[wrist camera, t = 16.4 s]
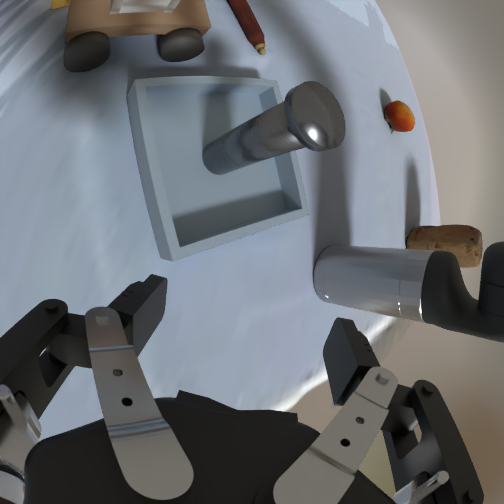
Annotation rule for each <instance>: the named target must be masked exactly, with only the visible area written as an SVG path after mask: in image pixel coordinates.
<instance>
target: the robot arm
mask: <svg viewBox="0 0 504 504" xmlns="http://www.w3.org/2000/svg"><path fill="white" fill-rule="evenodd" d="M314 286H315V290H316V292H317V295H318V296H319V297H320V299H321V300H323V301H325V302H328V303H333V304H337V305H342V306H346V307H350V308H355V309H359V310H364V311H369V312H373V313H378V314H383V315H388V316H393V317H397V318H402V319H408V320H413V321H419V322H423V323H429V324H434V325H436V326H439V327H441V328H443V329H446V330H450V331H455V332H461V333H464V334H469V335H473V336H477V337H482V338H485V339H489V340H493V341H498V342H504V242H497V243H494V244H492V245H490V246H489V247H488V248H487V249H486V251H485V253H484V256H483V262H482V269H481V281H480V292H479V300H476V299H474V298H472V296H471V295H470V294H469V292H468V291H467V289H466V287H465V284H464V281H463V279H462V275H461V271H460V266H459V263H458V260H457V258H456V256H455V255H454V254H453V253H451V252H448V251H433V250H413V249H395V248H377V247H358V246H339V245H333V246H329V247H327V248H326V249H325V250H323V252H322V253H321V254H320V256H319V258H318V260H317V263H316V266H315V270H314ZM166 293H167V278H164V277H161V276H157V275H153V274H151V275H150V276H149V277H148V278H147V279H146V280H145V281H144V282H140V281H138V282H135V283H133V284H130V285H129V286H128V287H127V288H126V289H125V291H123V292H122V293H121V294H120V295H119V296H118V297H117V298H116V299H115V300H114V301H112V302H111V303H110V304H109V305H108V306H107V307H95V308H92V309H90V310H89V311H87V312H86V314H85V315H77V314H71V313H68V307H67V304H66V303H65V302H63V301H61V300H58V299H48V300H44V301H42V302H41V303H39V304H38V305H37V306H36V307H35V308H33V309H32V310H31V311H30V312H29V313H27V314H26V315H25V316H24V317H23V318H22V319H21V320H19V321H18V322H17V323H16V324H15V325H14V326H13V327H12V328H11V329H9V330H8V331H7V332H6V333H5V334H4V335H3V336H2V337H1V338H0V464H1V465H8V466H10V467H11V468H12V469H14V470H15V471H17V472H18V473H19V474H21V475H22V476H24V479H25V492H24V500H23V504H482V503H483V499H484V494H483V490H482V488H481V484H480V482H479V479H478V477H477V473H476V471H475V468H474V466H473V463H472V461H471V458H470V456H469V453H468V451H467V449H466V446H465V444H464V442H463V439H462V437H461V435H460V433H459V431H458V428H457V426H456V424H455V422H454V420H453V418H452V416H451V414H450V412H449V410H448V408H447V406H446V404H445V402H444V400H443V398H442V396H441V394H440V392H439V390H438V389H437V387H436V386H435V385H433V384H432V383H430V382H428V381H426V380H418V381H416V382H415V384H414V385H413V386H412V388H410V387H406V386H403V385H399V384H398V380H397V378H396V376H395V375H394V374H393V373H392V372H391V371H389V370H388V369H385V368H383V367H380V365H379V362H378V360H377V358H376V356H375V354H374V352H373V350H372V348H371V346H370V344H369V341H368V339H367V338H366V337H365V336H364V335H363V334H362V333H361V332H360V331H358V330H357V328H356V326H355V324H354V322H353V320H350V319H344V318H339V317H338V318H336V320H335V321H334V324H333V326H332V328H331V331H330V333H329V335H328V338H327V340H326V342H325V345H324V349H323V358H324V362H325V366H326V370H327V375H328V379H329V383H330V388H331V392H332V397H333V402H334V405H337V406H343V407H342V408H341V410H340V411H339V412H338V414H337V415H336V416H335V418H334V419H333V420H332V421H331V422H330V424H329V425H328V426H327V427H326V429H325V430H324V431H323V432H322V433H321V434H320V433H319V432H318V431H316V430H315V429H313V428H311V427H309V426H307V425H305V424H302V423H300V422H298V417H297V413H290V412H282V411H275V410H236V409H233V408H231V407H229V406H226V405H224V404H222V403H219V402H217V401H215V400H212V399H210V398H208V397H204V396H200V395H196V394H192V393H188V392H185V391H181V390H179V392H178V395H177V397H176V398H172V397H164V398H156V399H154V398H153V395H152V393H151V391H150V389H149V386H148V384H147V381H146V379H145V376H144V374H143V371H142V369H141V366H140V364H139V361H138V358H137V357H138V356H139V354H140V352H141V351H142V349H143V348H144V346H145V345H146V343H147V341H148V340H149V338H150V337H151V335H152V334H153V332H154V331H155V329H156V327H157V326H158V324H159V323H160V321H161V320H162V318H163V315H164V311H165V304H166ZM45 348H46V350H45V351H44V352H43V354H42V355H41V356H40V354H41V352H42V351H43V350H44V349H45ZM39 356H40V357H39ZM75 366H80V367H86V368H92V369H93V374H94V379H95V384H96V389H97V393H98V397H99V401H100V405H101V409H102V413H103V416H104V418H103V419H100V420H98V421H95V422H92V423H90V424H87V425H84V426H81V427H78V428H76V429H73V430H70V431H67V432H64V433H61V434H58V435H55V436H51V437H48V438H46V439H43V440H41V441H40V442H39V438H40V435H41V425H40V422H39V418H40V417H41V415H42V414H43V412H44V410H45V409H46V407H47V406H48V404H49V403H50V401H51V400H52V398H53V397H54V395H55V394H56V392H57V391H58V389H59V388H60V386H61V385H62V384H63V382H64V381H65V379H66V378H67V376H68V375H69V374H70V372H71V371H72V369H73V368H74V367H75ZM418 424H419V426H420V429H421V432H422V438H421V441H420V442H419V444H418V442H417V439H416V436H415V433H414V430H413V429H414V428H415V427H416V426H417V425H418ZM379 430H382V432H383V436H384V439H385V444H386V448H387V452H388V456H389V461H390V465H391V470H392V474H393V479H394V484H395V489H396V494H395V495H394V497H393V499H391V498H390V497H389V496H388V495H387V494H385V493H384V492H383V491H382V490H381V489H380V488H378V487H377V486H376V485H375V484H374V483H373V482H372V481H370V480H369V479H368V478H367V477H366V476H365V475H364V474H363V473H362V472H360V471H359V470H358V468H359V466H360V464H361V463H362V461H363V459H364V458H365V456H366V454H367V453H368V451H369V449H370V447H371V446H372V444H373V442H374V440H375V438H376V436H377V434H378V432H379Z"/></svg>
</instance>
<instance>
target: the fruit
mask: <svg viewBox="0 0 504 504" xmlns="http://www.w3.org/2000/svg"><path fill="white" fill-rule="evenodd" d="M385 116H386V120H385V121H388V122H389V123H390V125H391V127H392V132H393V131H394V130H395V131H399V132H407V131H411V130H412V129H413V128H414V125H415V118H414V115H413V113H412V111H411V110H410V108H409V107H408V106H407V105H406V104H404V103H403V102H401V101H394V102H391V103H389V104H388V105H387V106H386V108H385ZM391 134H392V133H391Z"/></svg>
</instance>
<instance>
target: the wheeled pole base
mask: <svg viewBox="0 0 504 504" xmlns="http://www.w3.org/2000/svg"><path fill="white" fill-rule="evenodd" d="M210 27H211V24H210V20H209V16H208V13H207V9H206V5H205V1H204V0H70V4H69V11H68V18H67V26H66V37H65V44H66V46H65V51H64V66H65V68H66V69H67V70H69V71H72V72H83V71H88V70H92V69H94V68H97V67H99V66H100V65H102V64H103V63H105V62H106V61H107V59H108V58H109V56H110V45H109V37H117V36H129V35H149V34H165V35H164V36H163V37H162V38H161V39H160V41H159V45H160V52H161V57H162V59H163V60H165V61H168V62H181V61H186V60H189V59H192V58H194V57H196V56H198V55H199V54H201V53H202V52H203V50H204V43H203V38H202V36H203V35H204V34H205V33H206V32H207V31H208V30H209V29H210Z"/></svg>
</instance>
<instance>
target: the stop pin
mask: <svg viewBox="0 0 504 504" xmlns="http://www.w3.org/2000/svg"><path fill="white" fill-rule="evenodd" d="M344 136H345V120H344V115H343V112H342V110H341V107H340V105H339V103H338V101H337V100H336V98H335V97H334V96H333V94H332V93H331V92H330V91H329V90H328V89H327V88H326V87H324V86H323V85H321V84H320V83H317V82H314V81H307V82H304V83H302V84H300V85H298V86H296V87H294V88H292V89H291V90H290V91H289V92H288V93H287V95H286V97H285V101H284V102H282V103H280V104H278V105H276V106H274V107H272V108H270V109H268V110H266V111H264V112H262V113H261V114H259V115H257V116H255V117H253V118H251V119H250V120H248V121H246V122H244V123H242V124H241V125H239V126H237V127H235V128H234V129H232V130H230V131H229V132H227V133H225V134H224V135H222V136H220V137H219V138H217V139H215V140H214V141H212V142H210V143H209V144H207V145H206V147H205V148H204V150H203V154H202V159H203V163H204V165H205V167H206V168H207V169H208V170H209V171H210V172H211V173H213V174H216V175H224V174H227V173H229V172H232V171H235V170H238V169H240V168H243V167H246V166H249V165H252V164H255V163H258V162H261V161H263V160H266V159H269V158H273V157H276V156H279V155H282V154H285V153H288V152H291V151H295V150H298V149H301V148H305V147H307V148H308V149H310V150H313V151H323V150H327V149H331V148H335V147H337V146H339V145H340V144H341V143H342V141H343V139H344Z"/></svg>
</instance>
